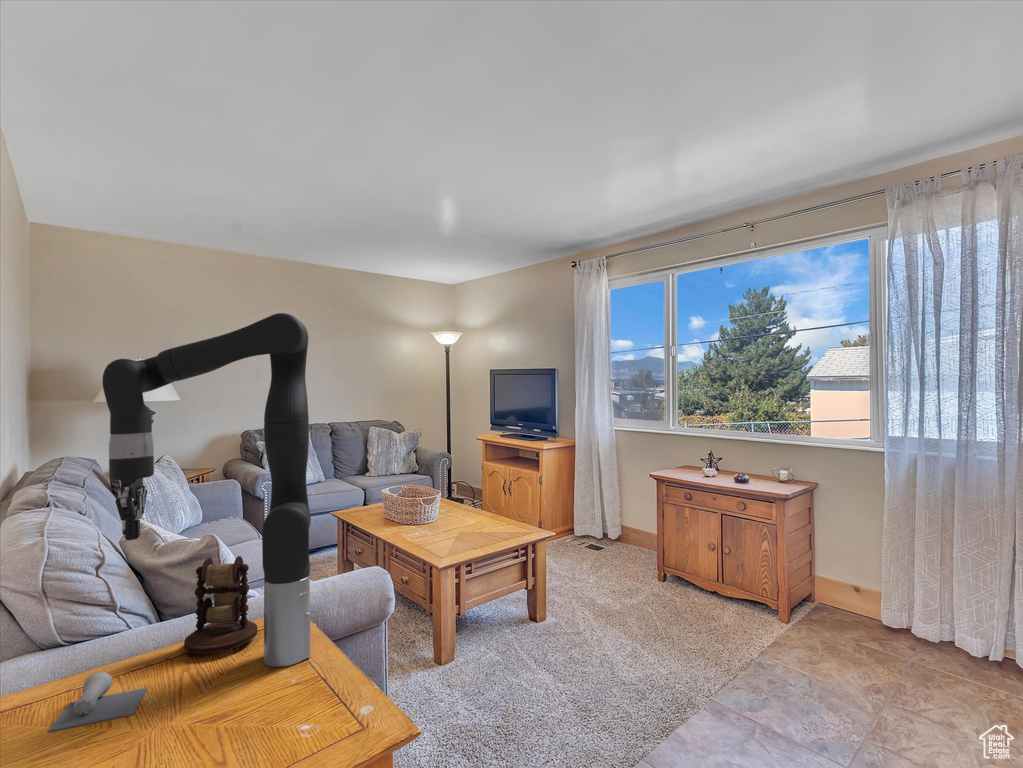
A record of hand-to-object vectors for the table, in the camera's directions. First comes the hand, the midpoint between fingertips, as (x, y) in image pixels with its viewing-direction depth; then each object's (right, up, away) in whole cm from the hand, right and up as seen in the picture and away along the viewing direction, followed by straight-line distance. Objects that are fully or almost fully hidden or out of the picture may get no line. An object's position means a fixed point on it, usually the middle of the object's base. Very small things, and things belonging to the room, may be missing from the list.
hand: (132, 538), depth 106 cm
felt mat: (+4, -27, -13) cm, 30 cm away
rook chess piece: (0, -25, -8) cm, 26 cm away
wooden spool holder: (+12, -28, +12) cm, 33 cm away
